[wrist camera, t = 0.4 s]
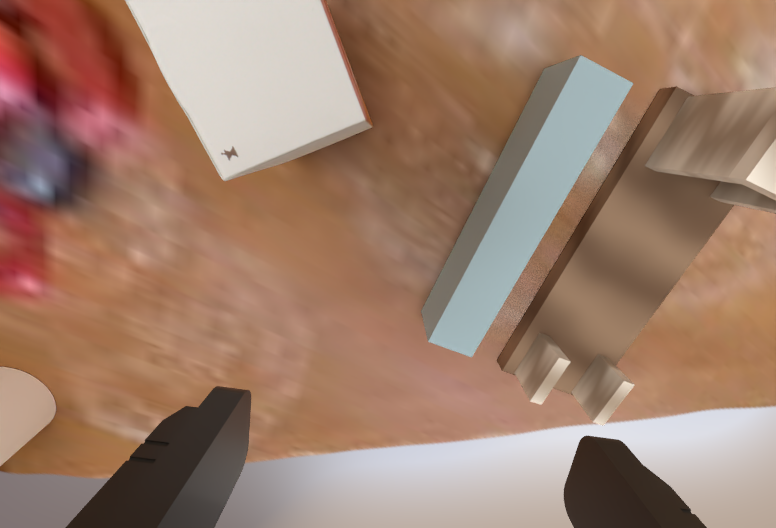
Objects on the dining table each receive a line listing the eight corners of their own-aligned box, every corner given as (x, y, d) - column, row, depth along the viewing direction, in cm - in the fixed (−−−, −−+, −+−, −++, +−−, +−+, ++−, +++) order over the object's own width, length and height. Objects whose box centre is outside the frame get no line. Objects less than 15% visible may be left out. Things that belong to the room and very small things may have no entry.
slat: (542, 69, 25) (580, 55, 20) (586, 91, 25) (633, 83, 21) (420, 309, 31) (428, 341, 26) (457, 323, 32) (471, 357, 27)
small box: (375, 127, 26) (371, 124, 13) (294, 160, 26) (219, 186, 14) (328, -1, 23) (268, -150, 11) (239, 40, 24) (87, -57, 11)
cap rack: (660, 88, 25) (802, 68, 17) (759, 140, 26) (937, 145, 18) (496, 360, 33) (537, 440, 24) (581, 389, 34) (647, 475, 26)
